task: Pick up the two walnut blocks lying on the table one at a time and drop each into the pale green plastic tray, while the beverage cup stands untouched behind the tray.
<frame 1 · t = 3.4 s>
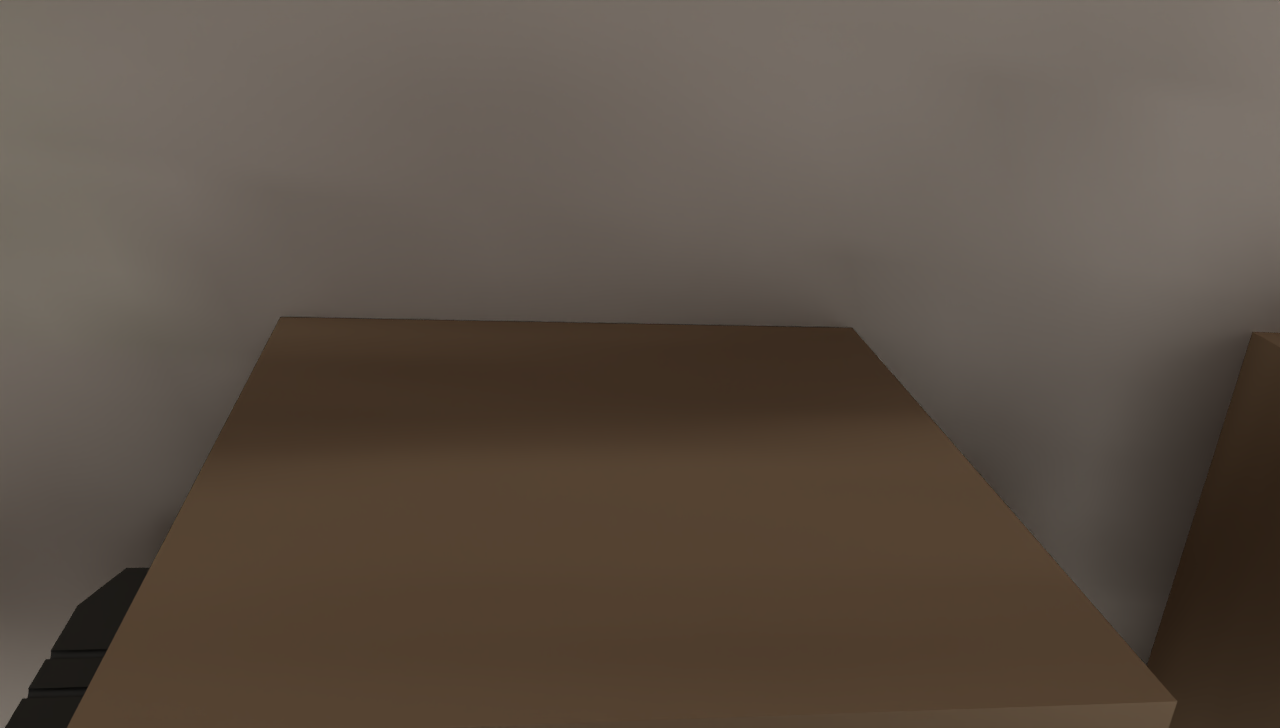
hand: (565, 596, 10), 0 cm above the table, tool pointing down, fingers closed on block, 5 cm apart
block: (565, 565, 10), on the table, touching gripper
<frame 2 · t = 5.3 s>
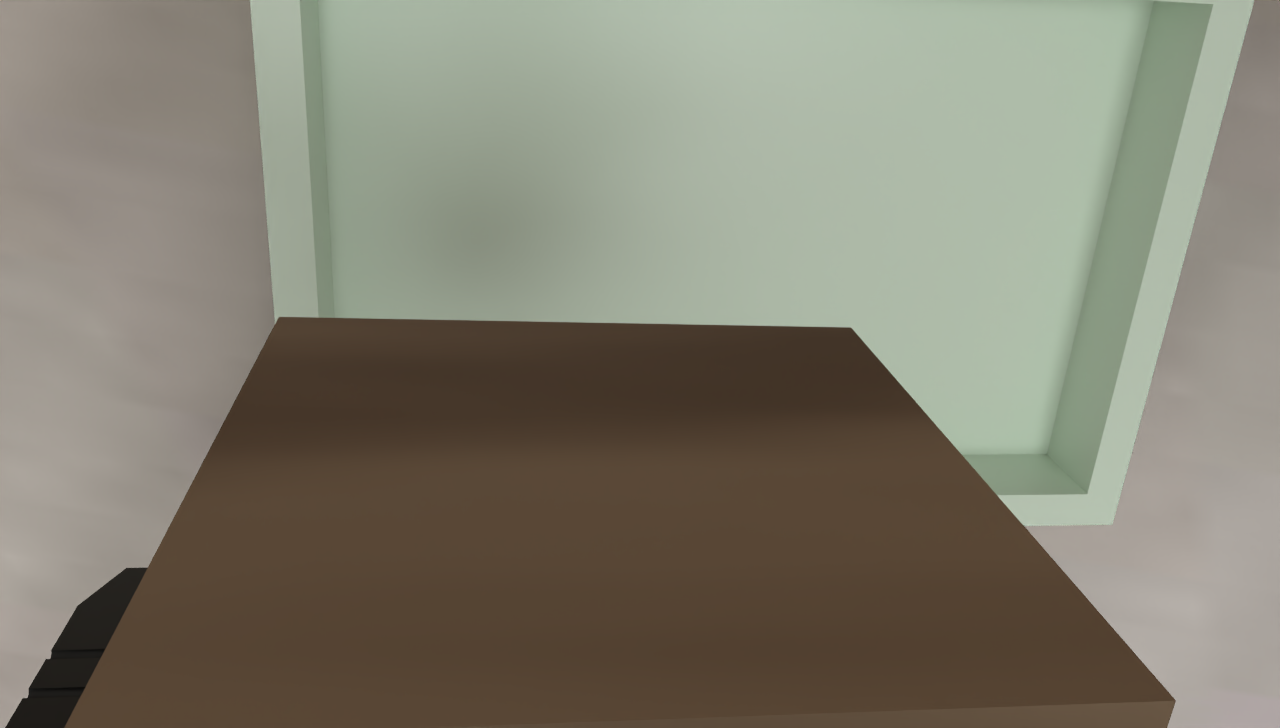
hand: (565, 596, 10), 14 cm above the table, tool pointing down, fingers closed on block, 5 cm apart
tray: (726, 228, 23), on the table
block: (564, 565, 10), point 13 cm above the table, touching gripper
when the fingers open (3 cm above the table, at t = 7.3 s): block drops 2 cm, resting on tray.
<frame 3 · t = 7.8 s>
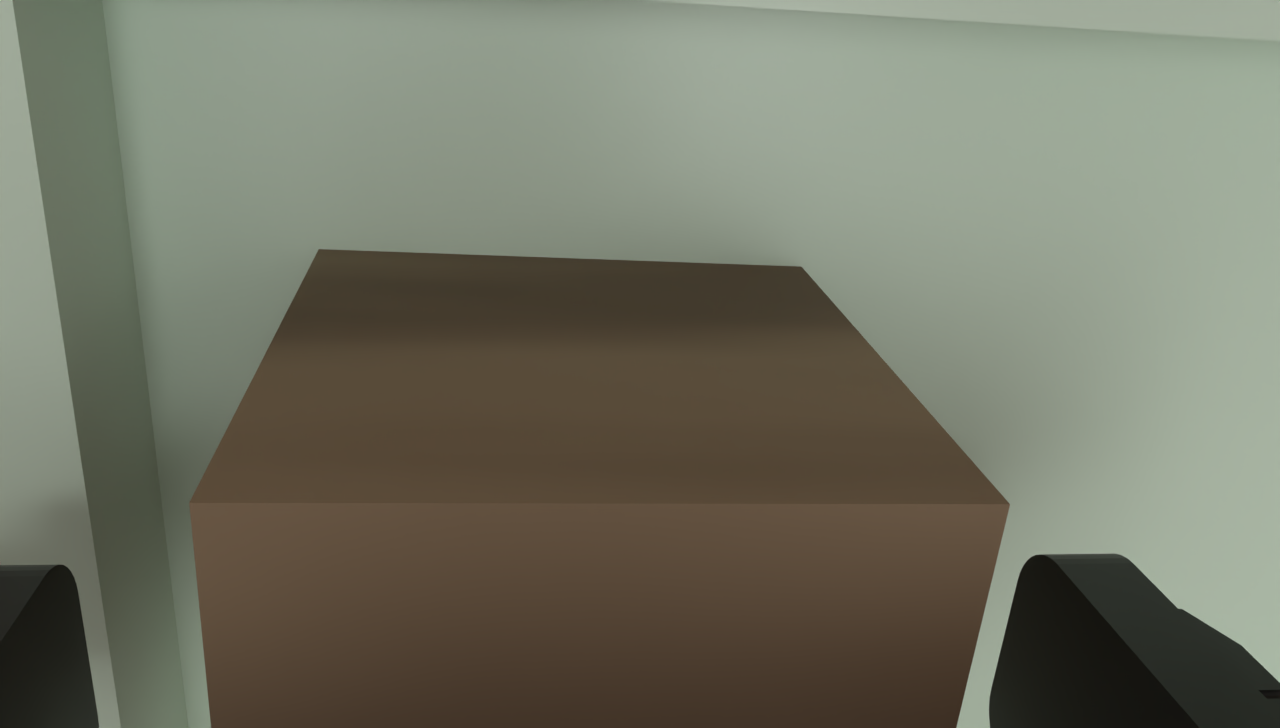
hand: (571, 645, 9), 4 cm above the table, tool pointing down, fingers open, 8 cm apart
tray: (874, 448, 13), on the table
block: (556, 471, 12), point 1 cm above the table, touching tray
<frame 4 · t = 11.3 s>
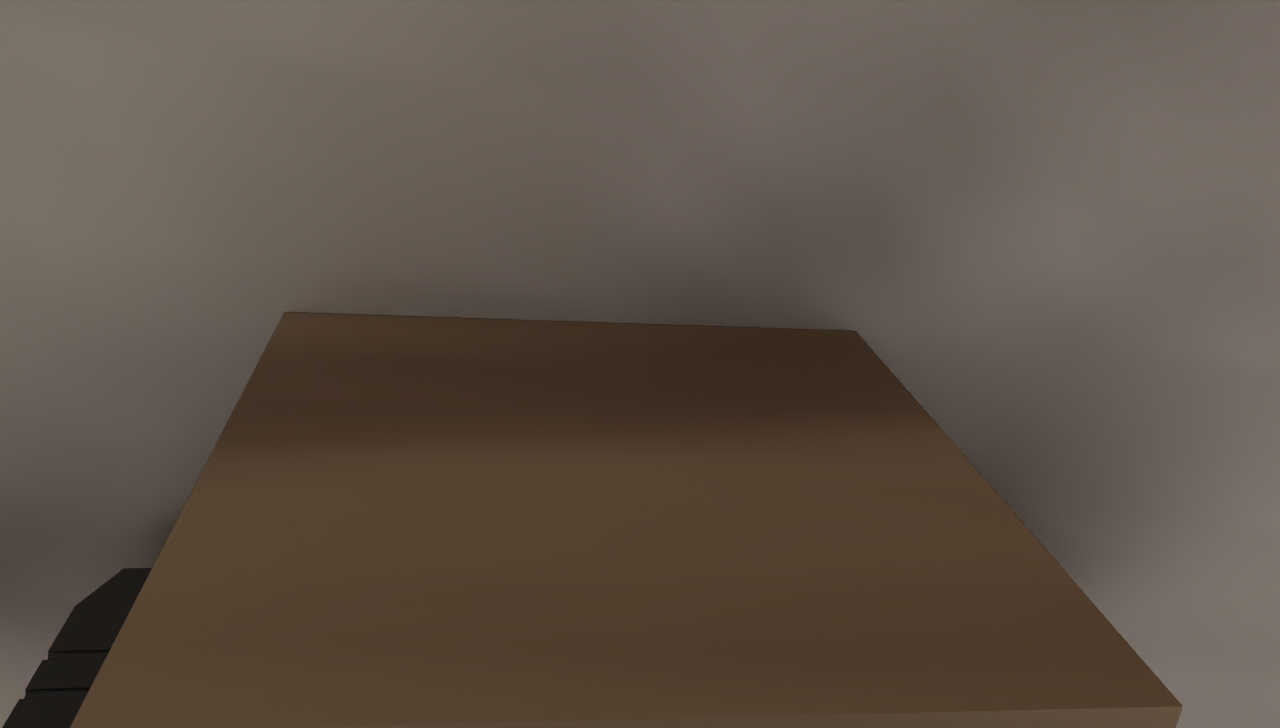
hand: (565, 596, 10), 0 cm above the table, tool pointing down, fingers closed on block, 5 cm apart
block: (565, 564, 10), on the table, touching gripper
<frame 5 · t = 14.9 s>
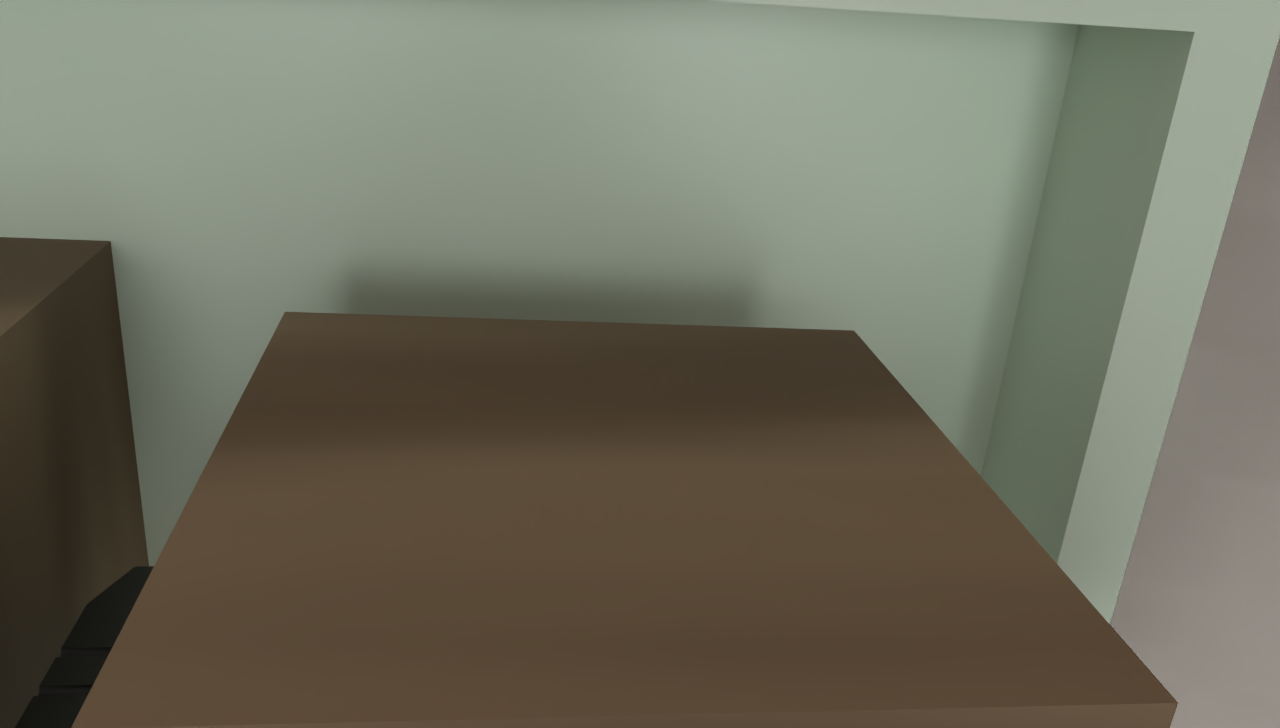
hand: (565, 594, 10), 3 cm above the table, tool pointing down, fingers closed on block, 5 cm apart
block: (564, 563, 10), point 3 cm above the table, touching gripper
tray: (286, 439, 12), on the table
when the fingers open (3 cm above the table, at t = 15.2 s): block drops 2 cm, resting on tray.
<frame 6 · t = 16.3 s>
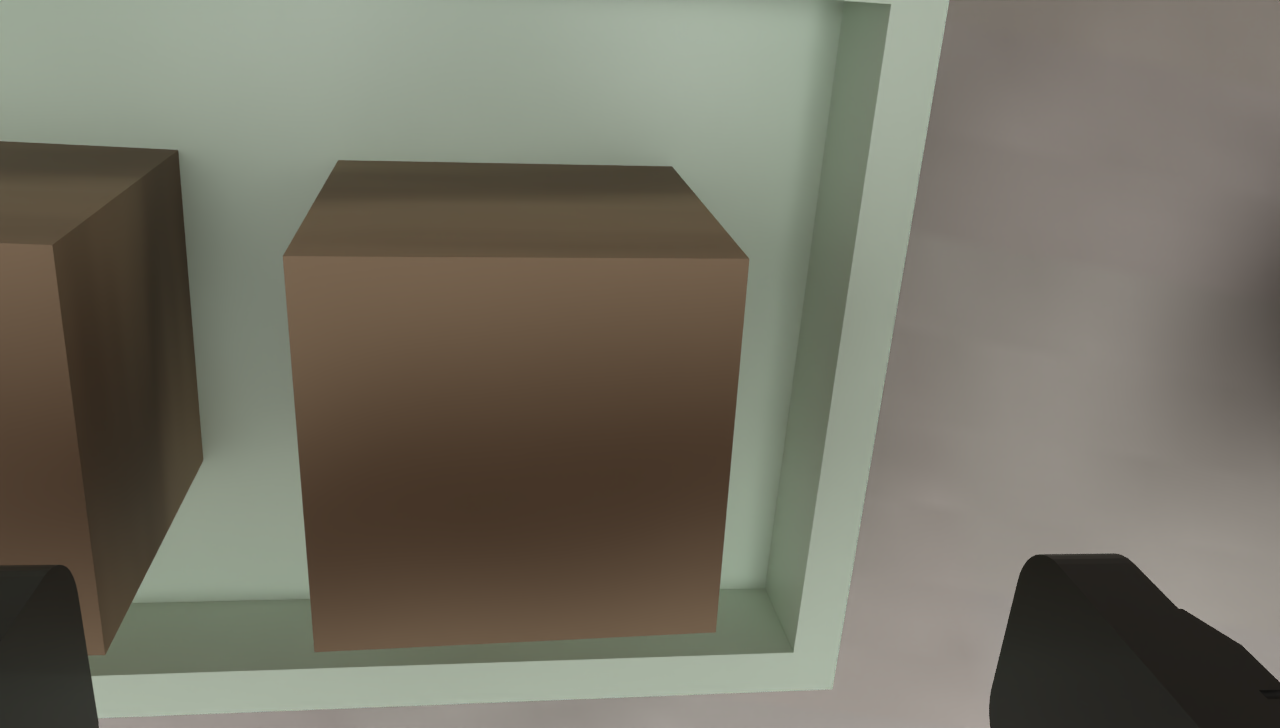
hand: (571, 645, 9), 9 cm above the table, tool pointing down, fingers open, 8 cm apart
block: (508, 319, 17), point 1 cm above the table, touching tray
tray: (295, 302, 17), on the table
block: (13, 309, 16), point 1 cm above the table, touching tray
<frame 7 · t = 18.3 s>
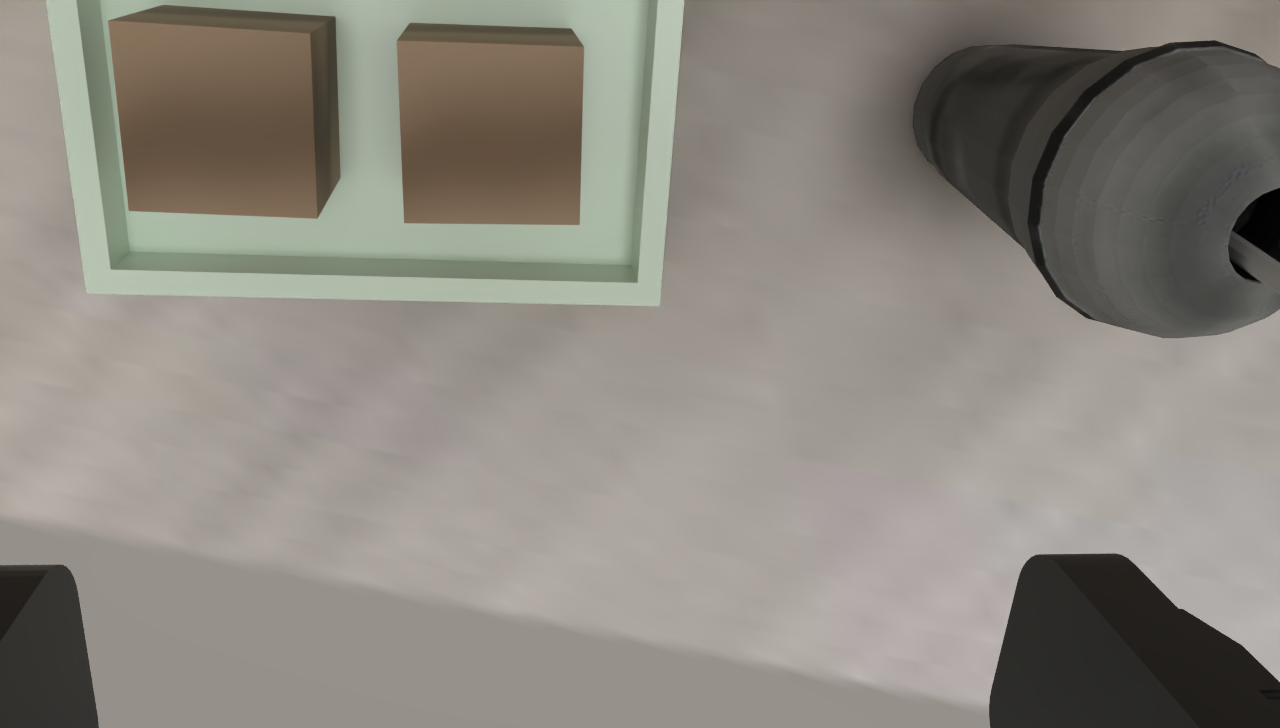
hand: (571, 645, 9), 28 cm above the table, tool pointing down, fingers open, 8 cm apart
beverage cup: (973, 111, 37), on the table
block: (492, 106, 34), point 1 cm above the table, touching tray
tray: (386, 98, 34), on the table
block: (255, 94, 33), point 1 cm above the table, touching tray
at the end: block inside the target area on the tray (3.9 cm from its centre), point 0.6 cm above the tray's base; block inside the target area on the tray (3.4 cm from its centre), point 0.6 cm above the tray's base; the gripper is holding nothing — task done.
